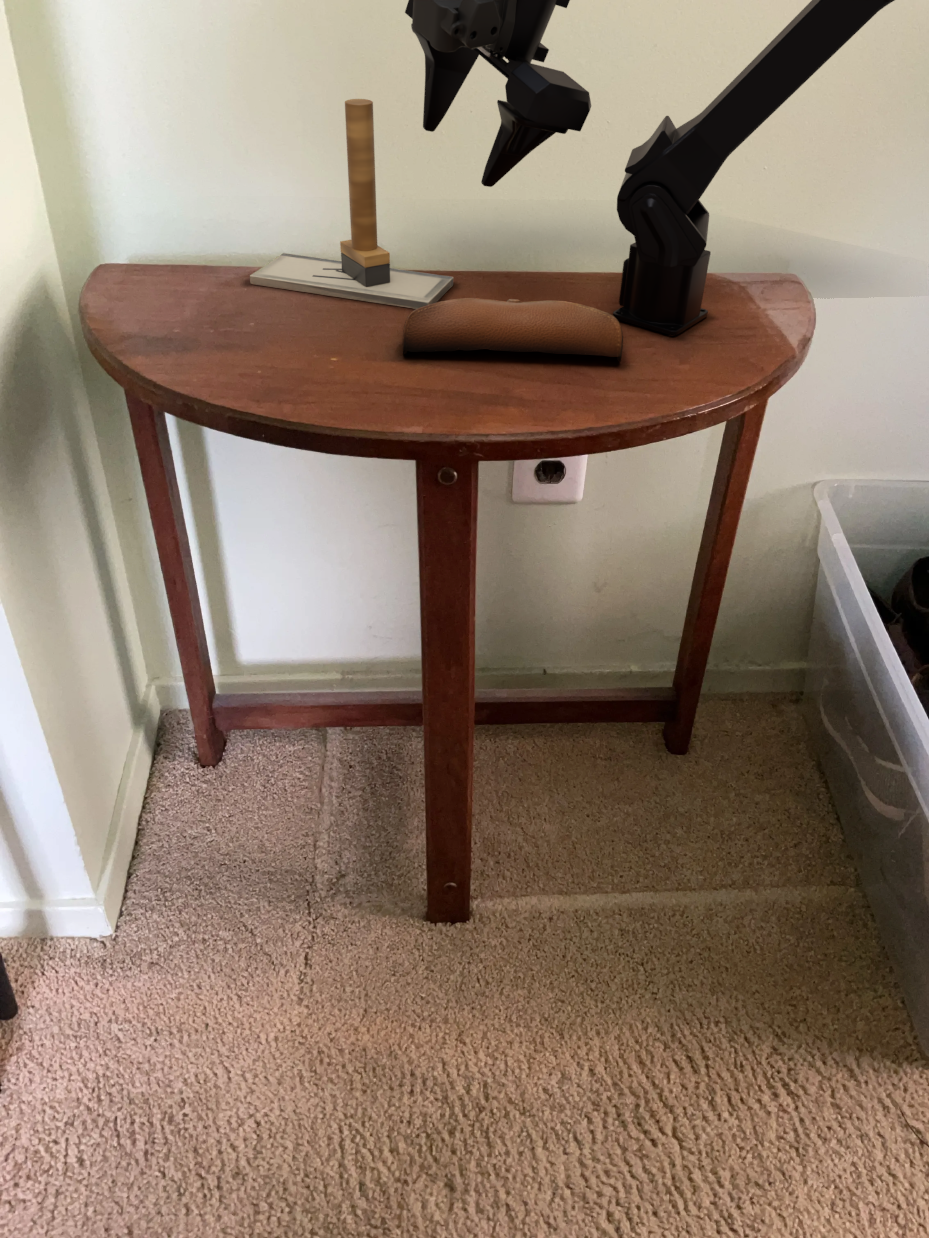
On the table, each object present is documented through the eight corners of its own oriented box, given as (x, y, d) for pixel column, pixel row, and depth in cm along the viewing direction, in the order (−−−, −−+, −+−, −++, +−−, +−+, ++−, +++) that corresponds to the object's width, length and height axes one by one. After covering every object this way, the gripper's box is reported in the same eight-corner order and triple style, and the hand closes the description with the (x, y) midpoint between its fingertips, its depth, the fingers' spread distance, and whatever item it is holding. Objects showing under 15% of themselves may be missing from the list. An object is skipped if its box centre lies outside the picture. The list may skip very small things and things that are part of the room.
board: (453, 285, 95) (453, 276, 94) (428, 311, 90) (428, 302, 89) (283, 260, 99) (283, 252, 99) (250, 284, 94) (249, 275, 93)
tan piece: (390, 282, 93) (386, 106, 83) (365, 287, 92) (358, 109, 82) (365, 266, 96) (358, 94, 87) (341, 271, 95) (331, 97, 85)
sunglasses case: (613, 322, 87) (625, 270, 81) (614, 390, 84) (626, 342, 78) (409, 316, 87) (404, 264, 81) (404, 383, 85) (399, 335, 78)
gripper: (386, -123, 74) (325, 89, 84) (530, -13, 66) (443, 207, 76) (494, -82, 81) (426, 109, 91) (636, 22, 73) (544, 219, 83)
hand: (456, 157), depth 85 cm, fingers open, 9 cm apart
